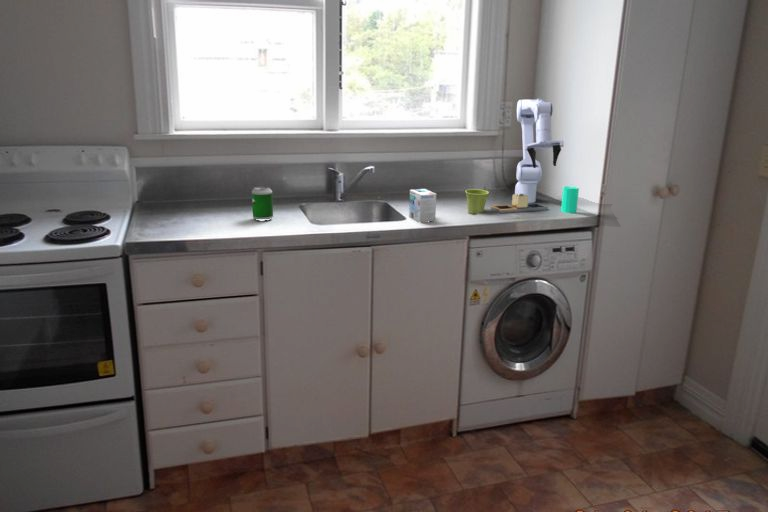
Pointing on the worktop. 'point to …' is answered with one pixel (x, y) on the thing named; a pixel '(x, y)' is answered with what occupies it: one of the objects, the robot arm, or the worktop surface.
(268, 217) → the soda can
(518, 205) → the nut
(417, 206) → the light bulb box
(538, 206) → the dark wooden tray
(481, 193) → the plant pot
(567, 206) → the candle
